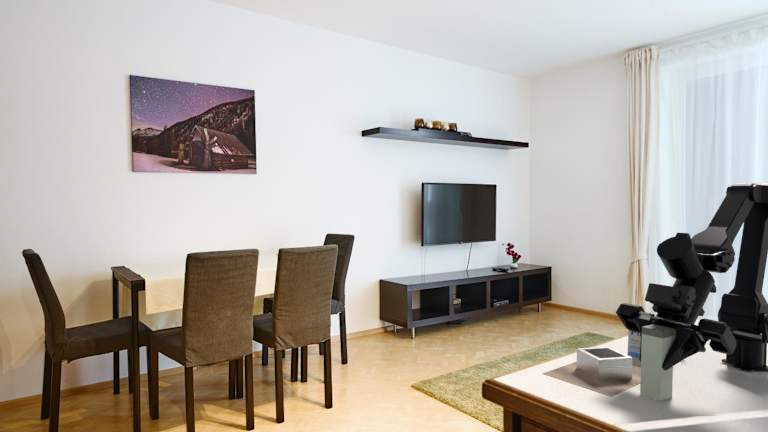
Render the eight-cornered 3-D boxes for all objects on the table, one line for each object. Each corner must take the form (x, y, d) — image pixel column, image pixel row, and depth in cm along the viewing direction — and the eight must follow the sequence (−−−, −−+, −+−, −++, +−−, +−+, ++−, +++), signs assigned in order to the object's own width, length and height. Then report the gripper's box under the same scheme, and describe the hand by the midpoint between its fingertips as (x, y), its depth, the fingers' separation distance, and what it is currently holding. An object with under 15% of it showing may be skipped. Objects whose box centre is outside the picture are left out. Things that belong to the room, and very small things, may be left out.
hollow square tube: (607, 365, 102) (608, 346, 102) (632, 378, 95) (632, 357, 95) (576, 368, 101) (576, 348, 101) (598, 380, 94) (599, 359, 94)
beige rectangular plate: (597, 358, 110) (597, 354, 110) (664, 377, 99) (664, 372, 99) (542, 378, 98) (542, 373, 98) (610, 402, 87) (610, 396, 87)
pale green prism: (651, 395, 90) (653, 324, 89) (671, 402, 87) (673, 328, 86) (640, 399, 88) (641, 326, 87) (660, 407, 85) (662, 331, 84)
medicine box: (626, 359, 110) (627, 320, 110) (632, 354, 113) (633, 316, 113) (667, 367, 105) (668, 326, 104) (671, 361, 108) (672, 322, 108)
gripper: (622, 261, 96) (585, 325, 91) (730, 274, 80) (692, 352, 75) (644, 297, 101) (610, 360, 95) (751, 316, 85) (717, 393, 79)
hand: (652, 365), depth 86 cm, fingers closed on pale green prism, 4 cm apart
